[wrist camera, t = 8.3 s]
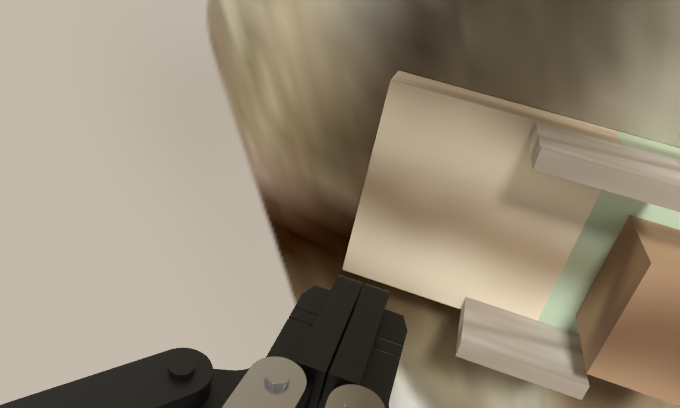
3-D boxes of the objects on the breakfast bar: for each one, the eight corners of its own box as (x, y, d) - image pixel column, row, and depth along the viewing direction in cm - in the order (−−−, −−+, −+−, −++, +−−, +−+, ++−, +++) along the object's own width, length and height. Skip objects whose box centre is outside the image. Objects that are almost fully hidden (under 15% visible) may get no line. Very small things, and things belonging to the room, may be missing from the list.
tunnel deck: (398, 70, 25) (373, 100, 20) (883, 204, 22) (988, 277, 17) (351, 250, 30) (322, 309, 25) (747, 380, 27) (799, 476, 22)
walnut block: (629, 214, 23) (651, 263, 20) (767, 256, 22) (816, 315, 19) (575, 315, 26) (586, 373, 22) (697, 355, 25) (728, 422, 21)
